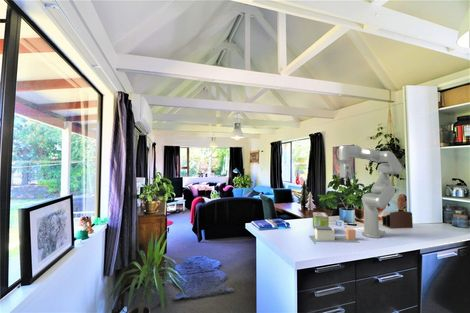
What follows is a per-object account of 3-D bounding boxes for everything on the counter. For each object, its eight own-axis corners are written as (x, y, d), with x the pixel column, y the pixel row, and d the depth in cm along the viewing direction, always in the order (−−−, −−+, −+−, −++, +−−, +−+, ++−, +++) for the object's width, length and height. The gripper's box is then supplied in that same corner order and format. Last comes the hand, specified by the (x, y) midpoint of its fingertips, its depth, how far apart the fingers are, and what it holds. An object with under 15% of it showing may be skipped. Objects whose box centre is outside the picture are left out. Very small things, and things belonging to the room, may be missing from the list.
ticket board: (350, 237, 168) (350, 225, 168) (360, 244, 154) (359, 230, 154) (309, 237, 169) (309, 224, 170) (314, 243, 155) (314, 230, 156)
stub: (353, 238, 163) (352, 228, 163) (355, 240, 159) (355, 230, 159) (345, 238, 163) (345, 228, 163) (348, 240, 159) (348, 229, 159)
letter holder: (413, 228, 192) (412, 211, 193) (390, 228, 190) (390, 211, 191) (403, 225, 202) (402, 209, 202) (382, 225, 200) (381, 209, 201)
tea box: (329, 235, 172) (328, 216, 173) (315, 235, 174) (314, 215, 175) (325, 230, 187) (325, 212, 187) (312, 229, 189) (312, 211, 189)
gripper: (355, 162, 159) (355, 186, 158) (344, 162, 176) (345, 184, 175) (344, 162, 159) (344, 186, 159) (334, 162, 176) (335, 184, 176)
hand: (345, 185), depth 167 cm, fingers open, 9 cm apart
